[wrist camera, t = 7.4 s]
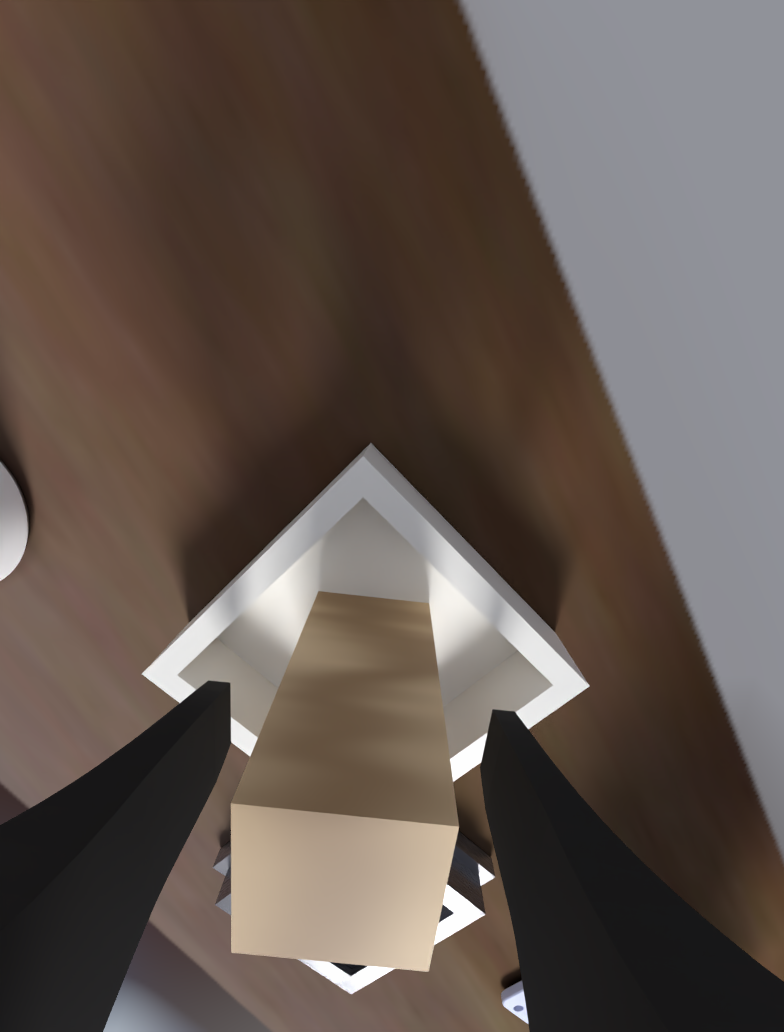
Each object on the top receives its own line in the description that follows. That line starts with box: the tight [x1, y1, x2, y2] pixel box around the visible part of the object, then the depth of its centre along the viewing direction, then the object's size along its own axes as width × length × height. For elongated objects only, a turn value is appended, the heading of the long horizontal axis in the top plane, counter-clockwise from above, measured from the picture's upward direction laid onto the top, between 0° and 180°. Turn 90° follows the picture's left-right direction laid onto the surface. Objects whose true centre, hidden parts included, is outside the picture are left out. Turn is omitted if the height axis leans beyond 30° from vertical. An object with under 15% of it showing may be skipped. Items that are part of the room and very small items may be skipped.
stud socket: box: [213, 831, 495, 994], centre depth 18 cm, size 9×9×2 cm
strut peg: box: [231, 591, 459, 972], centre depth 12 cm, size 4×4×8 cm
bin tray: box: [142, 443, 589, 781], centre depth 14 cm, size 10×10×3 cm
